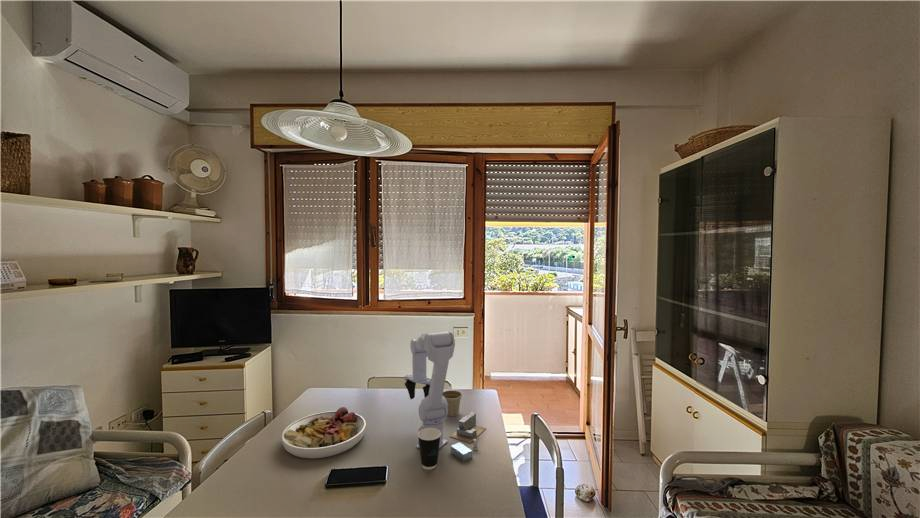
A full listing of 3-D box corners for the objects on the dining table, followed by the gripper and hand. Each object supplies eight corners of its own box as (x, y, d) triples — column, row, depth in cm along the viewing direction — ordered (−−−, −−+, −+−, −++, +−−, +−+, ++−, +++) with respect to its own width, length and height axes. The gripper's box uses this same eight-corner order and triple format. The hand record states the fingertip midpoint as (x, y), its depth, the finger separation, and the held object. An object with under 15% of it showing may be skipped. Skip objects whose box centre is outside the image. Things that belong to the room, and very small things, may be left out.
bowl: (340, 468, 127) (340, 445, 127) (263, 457, 133) (262, 435, 133) (378, 426, 156) (378, 407, 156) (313, 419, 163) (313, 401, 162)
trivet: (470, 443, 142) (470, 442, 142) (449, 437, 147) (449, 436, 147) (486, 429, 153) (486, 428, 153) (466, 423, 158) (466, 422, 158)
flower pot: (453, 420, 161) (453, 400, 160) (436, 414, 166) (436, 395, 166) (466, 412, 168) (466, 393, 168) (449, 407, 174) (449, 388, 174)
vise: (470, 444, 142) (470, 434, 141) (483, 452, 136) (483, 442, 136) (450, 452, 136) (450, 443, 136) (463, 461, 130) (463, 451, 130)
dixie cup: (424, 456, 133) (424, 425, 133) (445, 462, 130) (445, 430, 130) (413, 469, 126) (413, 436, 125) (434, 474, 123) (434, 441, 122)
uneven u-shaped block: (470, 423, 157) (470, 411, 157) (485, 427, 154) (485, 415, 153) (456, 435, 148) (456, 422, 147) (471, 439, 144) (471, 426, 144)
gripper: (439, 368, 156) (439, 400, 157) (411, 362, 164) (411, 393, 164) (429, 373, 150) (429, 406, 151) (401, 366, 158) (401, 399, 158)
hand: (419, 400), depth 157 cm, fingers open, 7 cm apart
